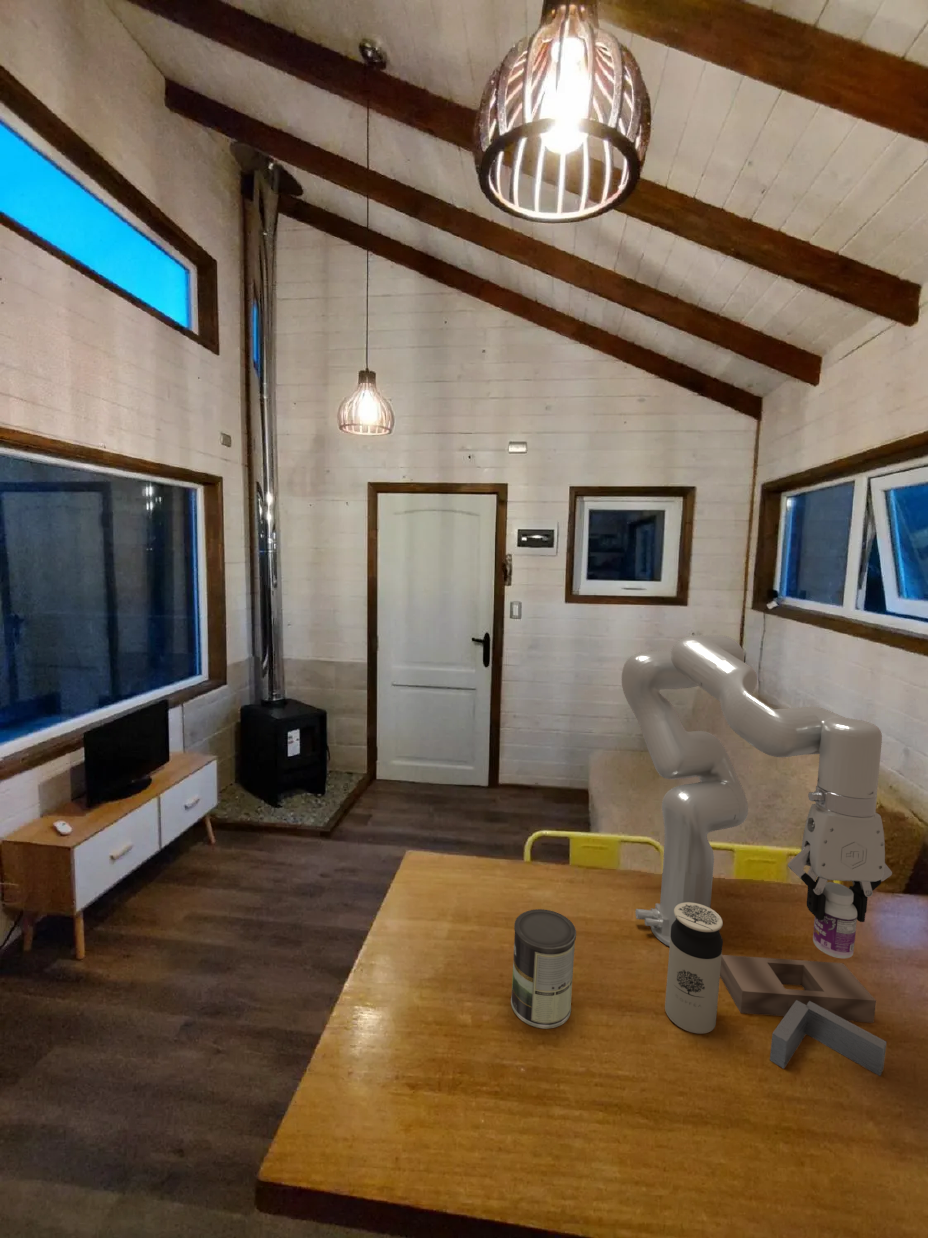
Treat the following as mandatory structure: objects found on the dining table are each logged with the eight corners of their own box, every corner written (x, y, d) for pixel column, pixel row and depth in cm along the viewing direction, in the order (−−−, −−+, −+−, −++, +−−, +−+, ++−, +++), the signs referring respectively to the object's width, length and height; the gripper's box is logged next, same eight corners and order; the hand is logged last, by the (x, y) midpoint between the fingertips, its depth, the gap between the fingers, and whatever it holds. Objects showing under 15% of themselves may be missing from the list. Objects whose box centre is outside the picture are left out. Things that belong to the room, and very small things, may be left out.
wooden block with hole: (740, 1013, 96) (742, 991, 96) (719, 975, 105) (721, 955, 105) (873, 1022, 95) (876, 1000, 95) (840, 983, 104) (843, 963, 104)
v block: (774, 1068, 86) (777, 1041, 85) (748, 1021, 95) (750, 996, 94) (889, 1077, 85) (893, 1049, 85) (852, 1029, 94) (855, 1004, 93)
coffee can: (501, 1014, 94) (505, 935, 93) (522, 975, 103) (526, 902, 102) (561, 1039, 90) (566, 956, 88) (578, 996, 99) (583, 920, 98)
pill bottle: (804, 938, 90) (809, 879, 89) (835, 936, 90) (840, 878, 90) (829, 961, 84) (834, 899, 84) (862, 959, 85) (867, 898, 84)
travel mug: (677, 991, 101) (685, 895, 99) (723, 1017, 95) (732, 916, 94) (656, 1014, 95) (664, 913, 94) (703, 1044, 90) (712, 937, 88)
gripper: (801, 809, 82) (792, 928, 84) (922, 814, 82) (910, 934, 83) (774, 789, 90) (766, 899, 91) (885, 794, 89) (875, 904, 91)
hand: (835, 914), depth 87 cm, fingers closed on pill bottle, 5 cm apart
